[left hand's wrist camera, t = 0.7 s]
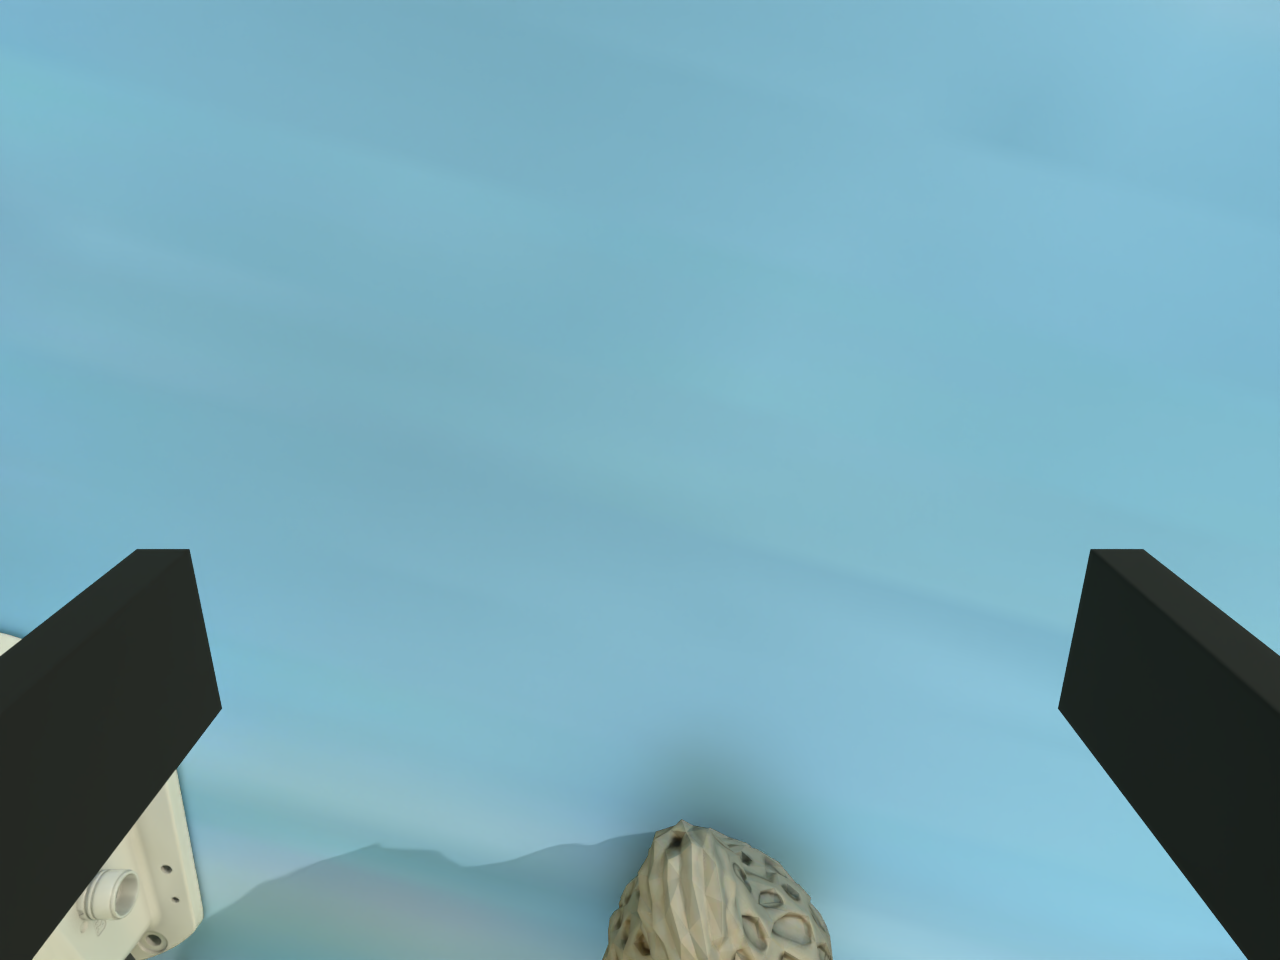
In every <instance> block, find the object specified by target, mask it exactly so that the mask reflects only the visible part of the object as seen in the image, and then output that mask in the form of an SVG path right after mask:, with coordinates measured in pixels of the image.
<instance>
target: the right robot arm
mask: <svg viewBox="0 0 1280 960" xmlns="http://www.w3.org/2000/svg"><path fill="white" fill-rule="evenodd" d="M20 640H21V638H18V637H14V636H11V635H8V634H4V633H0V656H1V655H2V654H3V653H5V652H6V651H7V650H9V649H10V648H11V647H12V646H14V645H15V644H16V643H18V642H19V641H20ZM202 920H203V906H202V900H201V895H200V890H199V884H198V879H197V874H196V869H195V863H194V858H193V853H192V848H191V842H190V837H189V832H188V827H187V822H186V816H185V811H184V806H183V801H182V795H181V790H180V785H179V780H178V774H177V769H176V770H175V771H174V773H173V774H172V775H171V777H170V778H169V779H168V781H167V782H166V783H165V785H164V786H163V787H162V788H161V790H160V791H159V792H158V794H157V795H156V796H155V798H154V799H153V800H152V802H151V803H150V804H149V806H148V807H147V808H146V810H145V811H144V812H143V814H142V815H141V816H140V818H139V819H138V820H137V822H136V823H135V824H134V825H133V827H132V828H131V829H130V831H129V832H128V833H127V835H126V836H125V837H124V839H123V840H122V841H121V843H120V844H119V845H118V847H117V848H116V849H115V851H114V852H113V853H112V855H111V856H110V857H109V859H108V860H107V861H106V863H105V864H104V865H103V866H102V868H101V869H100V870H99V872H98V873H97V874H96V876H95V877H94V878H93V880H92V881H91V882H90V884H89V885H88V886H87V888H86V889H85V890H84V892H83V893H82V894H81V896H80V897H79V898H78V900H77V901H76V902H75V903H74V905H73V906H72V907H71V909H70V910H69V911H68V913H67V914H66V915H65V917H64V918H63V919H62V921H61V922H60V923H59V925H58V926H57V927H56V929H55V930H54V931H53V933H52V934H51V935H50V937H49V938H48V939H47V941H46V942H45V943H44V944H43V946H42V947H41V948H40V950H39V951H38V952H37V954H36V955H35V956H34V958H33V959H32V960H144V959H147V958H150V957H153V956H156V955H158V954H161V953H163V952H166V951H168V950H169V949H171V948H173V947H175V946H177V945H178V944H180V943H181V942H183V941H184V940H185V939H187V938H188V937H189V936H190V935H191V934H192V933H193V932H194V931H195V930H196V928H197V927H198V926H199V924H200V923H201V922H202Z"/></svg>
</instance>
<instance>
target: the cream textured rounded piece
mask: <svg viewBox="0 0 1280 960" xmlns="http://www.w3.org/2000/svg"><path fill="white" fill-rule="evenodd" d="M810 899H811V897H810V896H809V895H808V894H807V893H806V892H805V891H804V890H803V888H802V887H801V886H800V885H799V884H797V883H795V881H794V880H793V879H792V878H791V877H790V875H789V874H788V873H787V872H786V871H785V869H784V868H783V867H782V866H781V864H780V863H779V862H778V861H776V860H774V859H772V858H771V857H769V856H767V855H766V854H764V853H763V852H761V851H759V850H758V849H755V848H751V846H750V845H748V844H747V843H745V842H742V841H739V840H736V839H733V838H730V837H727V836H725V835H724V834H722V833H720V832H718V831H716V830H714V829H712V828H704V827H698V826H693V825H691V824H689V823H688V822H686V821H684V820H682V819H681V820H680V821H679V822H678V823H677V824H676V825H675V826H672V827H669V828H666V829H663V830H659V831H656V833H655V836H654V839H653V842H652V846H651V847H650V848H649V852H648V856H647V858H646V860H645V862H644V863H643V865H642V867H641V868H640V870H639V872H638V876H636V877H635V878H634V879H633V880H632V881H631V882H630V883H629V884H627V885H626V887H625V890H624V892H623V894H622V896H621V900H620V902H619V909H617V910H616V911H614V913H613V914H612V916H611V917H610V921H609V929H608V947H607V949H606V952H605V954H604V957H603V959H602V960H833V958H832V950H831V941H830V935H829V932H828V929H827V926H826V924H825V922H824V920H823V918H822V916H821V914H820V913H819V912H818V911H817V909H816V908H815V907H814V906H813V905H812V904H811V903H810Z"/></svg>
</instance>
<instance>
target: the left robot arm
mask: <svg viewBox="0 0 1280 960" xmlns="http://www.w3.org/2000/svg"><path fill="white" fill-rule="evenodd" d="M221 709H222V706H221V701H220V696H219V692H218V687H217V682H216V677H215V672H214V667H213V662H212V657H211V652H210V648H209V643H208V638H207V633H206V628H205V623H204V618H203V613H202V608H201V603H200V599H199V594H198V589H197V584H196V579H195V574H194V569H193V564H192V559H191V554H190V550H189V549H136V550H135V551H134V552H133V553H131V554H130V555H129V556H128V557H126V558H125V559H124V560H122V561H121V562H120V563H119V564H117V565H116V566H115V567H113V568H112V569H111V570H110V571H108V572H107V573H106V574H105V575H103V576H102V577H101V578H99V579H98V580H97V581H96V582H94V583H93V584H92V585H90V586H89V587H88V588H87V589H85V590H84V591H83V592H81V593H80V594H79V595H78V596H76V597H75V598H74V599H73V600H71V601H70V602H69V603H67V604H66V605H65V606H64V607H62V608H61V609H60V610H58V611H57V612H56V613H55V614H53V615H52V616H51V617H50V618H48V619H47V620H46V621H44V622H43V623H42V624H41V625H39V626H38V627H37V628H35V629H34V630H33V631H32V632H30V633H29V634H28V635H26V636H25V637H24V638H23V639H21V640H20V641H19V642H18V643H16V644H15V645H14V646H12V647H11V648H10V649H9V650H7V651H6V652H5V653H3V654H2V655H1V656H0V960H32V959H33V958H34V956H35V955H36V954H37V952H38V951H39V950H40V948H41V947H42V946H43V944H44V943H45V942H46V941H47V939H48V938H49V937H50V935H51V934H52V933H53V931H54V930H55V929H56V927H57V926H58V925H59V923H60V922H61V921H62V919H63V918H64V917H65V915H66V914H67V913H68V911H69V910H70V909H71V907H72V906H73V905H74V903H75V902H76V901H77V900H78V898H79V897H80V896H81V894H82V893H83V892H84V890H85V889H86V888H87V886H88V885H89V884H90V882H91V881H92V880H93V878H94V877H95V876H96V874H97V873H98V872H99V870H100V869H101V868H102V866H103V865H104V864H105V863H106V861H107V860H108V859H109V857H110V856H111V855H112V853H113V852H114V851H115V849H116V848H117V847H118V845H119V844H120V843H121V841H122V840H123V839H124V837H125V836H126V835H127V833H128V832H129V831H130V829H131V828H132V827H133V825H134V824H135V823H136V822H137V820H138V819H139V818H140V816H141V815H142V814H143V812H144V811H145V810H146V808H147V807H148V806H149V804H150V803H151V802H152V800H153V799H154V798H155V796H156V795H157V794H158V792H159V791H160V790H161V788H162V787H163V786H164V785H165V783H166V782H167V781H168V779H169V778H170V777H171V775H172V774H173V773H174V771H175V770H176V769H177V767H178V766H179V765H180V763H181V762H182V761H183V759H184V758H185V757H186V755H187V754H188V753H189V751H190V750H191V749H192V747H193V746H194V745H195V744H196V742H197V741H198V740H199V738H200V737H201V736H202V734H203V733H204V732H205V730H206V729H207V728H208V726H209V725H210V724H211V722H212V721H213V720H214V718H215V717H216V716H217V714H218V713H219V712H220V710H221ZM1058 709H1059V710H1060V712H1061V713H1062V714H1063V716H1064V717H1065V718H1066V720H1067V721H1068V722H1069V724H1070V725H1071V726H1072V728H1073V729H1074V730H1075V732H1076V733H1077V734H1078V736H1079V737H1080V738H1081V740H1082V741H1083V742H1084V744H1085V745H1086V746H1087V747H1088V749H1089V750H1090V751H1091V753H1092V754H1093V755H1094V757H1095V758H1096V759H1097V761H1098V762H1099V763H1100V765H1101V766H1102V767H1103V769H1104V770H1105V771H1106V773H1107V774H1108V775H1109V777H1110V778H1111V779H1112V781H1113V782H1114V783H1115V785H1116V786H1117V787H1118V788H1119V790H1120V791H1121V792H1122V794H1123V795H1124V796H1125V798H1126V799H1127V800H1128V802H1129V803H1130V804H1131V806H1132V807H1133V808H1134V810H1135V811H1136V812H1137V814H1138V815H1139V816H1140V818H1141V819H1142V820H1143V822H1144V823H1145V824H1146V825H1147V827H1148V828H1149V829H1150V831H1151V832H1152V833H1153V835H1154V836H1155V837H1156V839H1157V840H1158V841H1159V843H1160V844H1161V845H1162V847H1163V848H1164V849H1165V851H1166V852H1167V853H1168V855H1169V856H1170V857H1171V859H1172V860H1173V861H1174V863H1175V864H1176V865H1177V866H1178V868H1179V869H1180V870H1181V872H1182V873H1183V874H1184V876H1185V877H1186V878H1187V880H1188V881H1189V882H1190V884H1191V885H1192V886H1193V888H1194V889H1195V890H1196V892H1197V893H1198V894H1199V896H1200V897H1201V898H1202V900H1203V901H1204V902H1205V903H1206V905H1207V906H1208V907H1209V909H1210V910H1211V911H1212V913H1213V914H1214V915H1215V917H1216V918H1217V919H1218V921H1219V922H1220V923H1221V925H1222V926H1223V927H1224V929H1225V930H1226V931H1227V933H1228V934H1229V935H1230V937H1231V938H1232V939H1233V941H1234V942H1235V943H1236V944H1237V946H1238V947H1239V948H1240V950H1241V951H1242V952H1243V954H1244V955H1245V956H1246V958H1247V959H1248V960H1280V656H1279V655H1278V654H1277V653H1275V652H1274V651H1273V650H1271V649H1270V648H1269V647H1268V646H1266V645H1265V644H1264V643H1262V642H1261V641H1260V640H1259V639H1257V638H1256V637H1255V636H1254V635H1252V634H1251V633H1250V632H1248V631H1247V630H1246V629H1245V628H1243V627H1242V626H1241V625H1239V624H1238V623H1237V622H1236V621H1234V620H1233V619H1232V618H1230V617H1229V616H1228V615H1227V614H1225V613H1224V612H1223V611H1222V610H1220V609H1219V608H1218V607H1216V606H1215V605H1214V604H1213V603H1211V602H1210V601H1209V600H1207V599H1206V598H1205V597H1204V596H1202V595H1201V594H1200V593H1199V592H1197V591H1196V590H1195V589H1193V588H1192V587H1191V586H1190V585H1188V584H1187V583H1186V582H1184V581H1183V580H1182V579H1181V578H1179V577H1178V576H1177V575H1175V574H1174V573H1173V572H1172V571H1170V570H1169V569H1168V568H1167V567H1165V566H1164V565H1163V564H1161V563H1160V562H1159V561H1158V560H1156V559H1155V558H1154V557H1152V556H1151V555H1150V554H1149V553H1147V552H1146V551H1145V550H1144V549H1091V550H1090V554H1089V559H1088V564H1087V569H1086V574H1085V579H1084V584H1083V589H1082V594H1081V599H1080V603H1079V608H1078V613H1077V618H1076V623H1075V628H1074V633H1073V638H1072V643H1071V647H1070V652H1069V657H1068V662H1067V667H1066V672H1065V677H1064V682H1063V687H1062V692H1061V696H1060V701H1059V706H1058Z"/></svg>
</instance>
